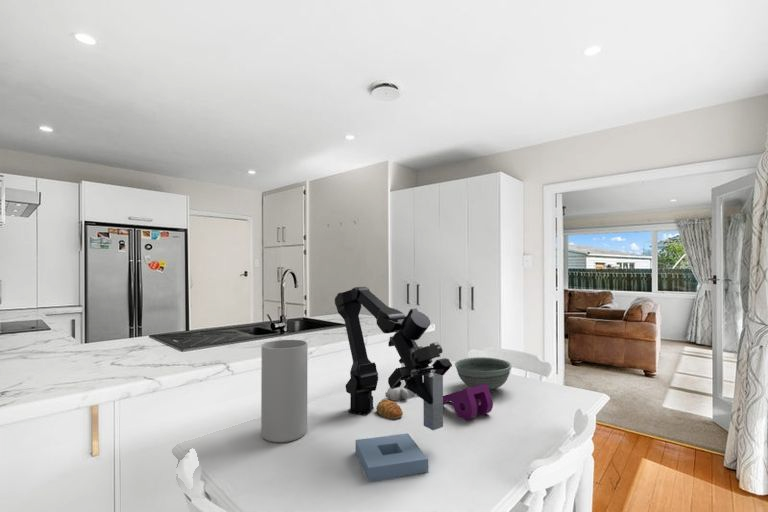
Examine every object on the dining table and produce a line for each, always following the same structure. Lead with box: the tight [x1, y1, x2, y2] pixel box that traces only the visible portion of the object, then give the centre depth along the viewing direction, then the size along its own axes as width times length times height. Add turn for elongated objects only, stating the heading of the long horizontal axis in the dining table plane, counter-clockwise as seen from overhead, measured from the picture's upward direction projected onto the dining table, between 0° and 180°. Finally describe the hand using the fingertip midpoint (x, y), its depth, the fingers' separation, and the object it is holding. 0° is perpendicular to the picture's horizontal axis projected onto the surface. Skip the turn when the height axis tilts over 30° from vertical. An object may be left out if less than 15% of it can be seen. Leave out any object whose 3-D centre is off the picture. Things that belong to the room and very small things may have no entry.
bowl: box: [454, 356, 512, 393], centre depth 147 cm, size 21×21×10 cm
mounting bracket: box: [443, 384, 494, 421], centre depth 126 cm, size 9×8×18 cm
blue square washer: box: [355, 432, 429, 483], centre depth 94 cm, size 14×14×3 cm
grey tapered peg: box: [422, 373, 444, 431], centre depth 100 cm, size 4×4×13 cm
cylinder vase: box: [260, 339, 308, 444], centre depth 109 cm, size 12×12×25 cm
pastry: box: [375, 398, 404, 420], centre depth 123 cm, size 9×7×4 cm
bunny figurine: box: [385, 380, 416, 402], centre depth 140 cm, size 10×5×15 cm
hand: (436, 401), depth 99 cm, fingers closed on grey tapered peg, 3 cm apart
